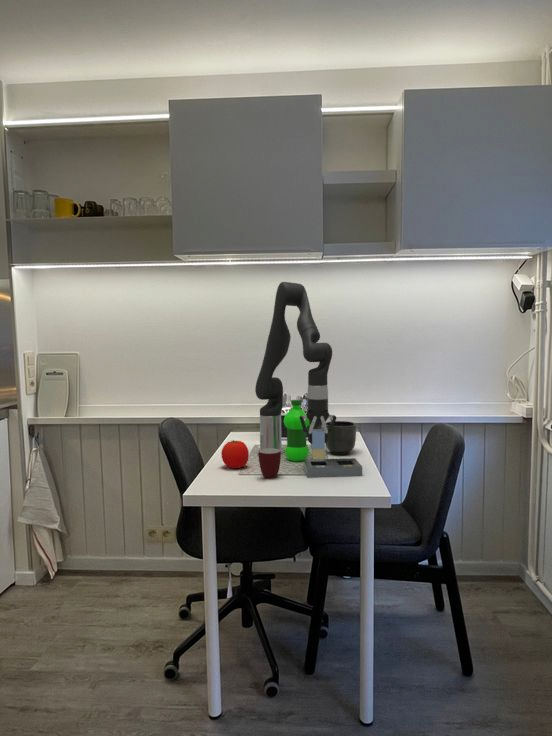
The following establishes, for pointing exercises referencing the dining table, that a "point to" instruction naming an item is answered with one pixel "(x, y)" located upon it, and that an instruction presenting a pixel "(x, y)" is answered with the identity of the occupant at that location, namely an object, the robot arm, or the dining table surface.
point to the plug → (318, 443)
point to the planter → (341, 437)
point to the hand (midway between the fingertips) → (317, 442)
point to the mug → (269, 462)
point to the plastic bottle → (296, 433)
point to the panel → (332, 468)
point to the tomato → (235, 454)
